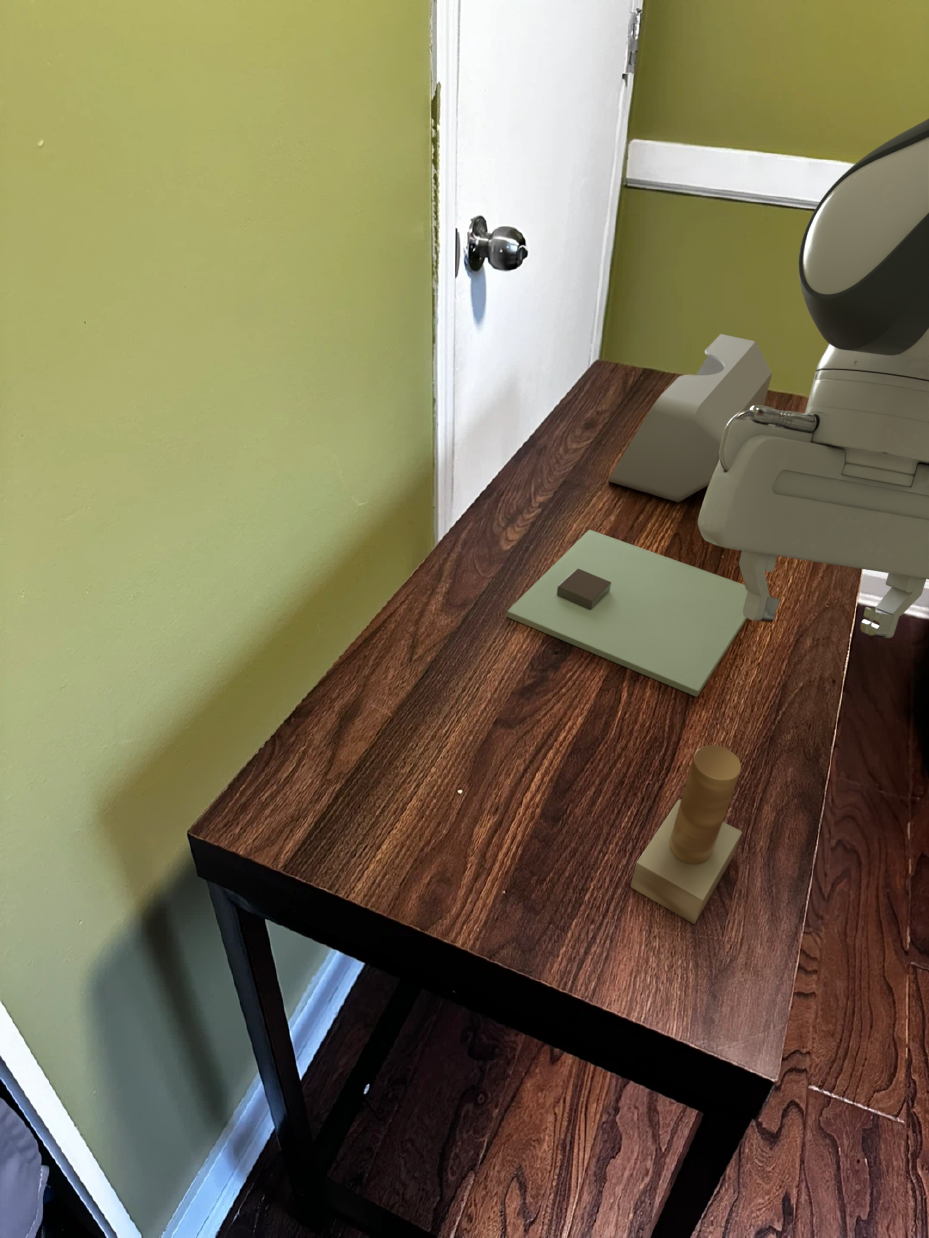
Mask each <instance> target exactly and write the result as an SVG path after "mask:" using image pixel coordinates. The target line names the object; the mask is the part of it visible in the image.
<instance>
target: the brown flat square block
mask: <svg viewBox="0 0 929 1238" xmlns="http://www.w3.org/2000/svg"><path fill="white" fill-rule="evenodd" d="M610 586H611V582H610V581H607V580H605V579H602V578H600V577H598V576H595V575H593V574H590V573H588V572H586V571H583V570H581V569H579V568H577V569H576V570H575V571H574V572H573V573H572V574H571V575H569V576H568V577H567V578H566V579H565V580H564V581H563V582H562V583H561V584H560V585H558V588H557V596H560V597H562V598H564V599H566V600H569V601H571V602H573V603H576V604H578V605H580V606H582V607H585V608H587V609H589V610H591V609H592V608H593V607H594V606H595V605H596V604H597V603H598V602H599V601H600V600H601V599H602V598H603V597H604V596H605V595H606V594H607V593H608V592H609V591H610Z"/></svg>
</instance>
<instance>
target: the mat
mask: <svg viewBox="0 0 929 1238" xmlns="http://www.w3.org/2000/svg"><path fill="white" fill-rule="evenodd" d="M577 568H579V569H581V570H583V571H586V572H588V573H590V574H593V575H595V576H598V577H600V578H602V579H605V580H607V581H610V582H611V586H610V591H609V592H608V593H607V594H606V595H605V596H604V597H603V598H602V599H601V600H600V601H599V602H598V603H597V604H596V605H595V606H594V607H593V608H592V609H591V610H589V609H587V608H585V607H582V606H580V605H578V604H576V603H573V602H571V601H569V600H566V599H564V598H562V597H560V596H557V588H558V585H560V584H561V583H562V582H563V581H564V580H565V579H566V578H567V577H568V576H569V575H571V574H572V573H573V572H574V571H575V570H576V569H577ZM747 592H748V590H746V587H745V584H743V583H740V582H737V581H734V580H732V579H729V578H727V577H723V576H721V575H718V574H715V573H712V572H710V571H706V570H704V569H701V568H698V567H696V566H693V565H690V564H688V563H684V562H681V561H679V560H676V559H673V558H671V557H667V556H665V555H662V554H659V553H657V552H654V551H651V550H648V549H645V548H643V547H639V546H638V545H637V546H636V545H634V544H631V543H628V542H626V541H623V540H620V539H617V538H614V537H611V536H609V535H605V534H604V533H600V532H597V531H595V530H592V529H587V531H586V532H585V533H584V534H583V535H582V536H581V537H580V538H579V539H578V540H577V541H576V542H575V543H574V544H573V545H572V546H571V547H570V548H569V549H567V551H566V552H565V553H564V554H563V555H562V556H561V557H560V558H559V559H558V560H557V561H556V562H555V563H553V565H552V566H551V567H549V569H548V570H546V572H545V573H543V575H541V577H540V578H539V579H538V580H536V582H535V583H534V584H532V586H530V588H529V589H528V590H527V591H526V592H524V594H523V595H522V596H520V598H518V600H516V602H515V603H514V604H513V605H512V606H511V607H510V608H509V609H508V610H507V611H506V617H507V618H509V619H511V620H514V621H516V622H518V623H520V624H523V625H525V626H528V627H530V628H532V629H535V630H537V631H539V632H541V633H544V634H546V635H549V636H551V637H553V638H556V639H558V640H561V641H563V642H565V643H568V644H570V645H572V646H574V647H577V648H579V649H582V650H584V651H587V652H589V653H591V654H593V655H596V656H597V657H598V656H599V657H601V658H604V659H606V660H608V661H611V662H613V663H615V664H617V665H619V666H621V667H625V668H627V669H630V670H632V671H634V672H636V673H639V674H641V675H644V676H646V677H648V678H649V679H653V680H655V681H658V682H660V683H662V684H665V685H667V686H669V687H672V688H674V689H677V690H679V691H682V692H684V693H685V694H688V695H690V696H693V697H694V698H695V697H696V698H697V697H698V696H699V695H700V694H701V692H702V691H703V688H705V686H706V684H707V682H708V681H709V679H710V678H711V676H712V674H713V673H714V671H715V670H716V668H717V667H718V665H719V664H720V662H721V660H722V659H723V657H724V656H725V654H726V652H727V651H728V650H729V648H730V647H731V645H732V643H733V642H734V640H735V639H736V637H737V635H739V632H740V631H741V629H742V628H743V626H744V624H745V623H746V621H747V620H748V618H746V617H745V616H744V615H743V608H744V604H745V600H746V596H747Z"/></svg>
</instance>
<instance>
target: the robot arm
mask: <svg viewBox="0 0 929 1238" xmlns="http://www.w3.org/2000/svg"><path fill="white" fill-rule="evenodd" d="M798 276H799V284H800V289H801V293H802V297H803V300H804V303H805V306H806V308H807V311H808V314H809V315H810V317H811V320H812V321H813V323H814V325H815V327H816V328H817V330H818V332H819V333H820V335H821V336H822V338H823V339H824V340H825V341H826V343H827V344H828V345H827V347H826V349H825V351H824V352H823V354H822V356H821V358H820V360H819V361H818V364H817V366H816V368H815V371H814V377H813V381H812V384H811V388H810V392H809V395H808V399H807V404H806V408H805V411H804V413H803V412H799V411H793V410H780V409H775V408H774V407H771V406H768V405H764V406H762V405H755V406H752V407H751V408H750V410H745V411H742V412H740V413H738V414H736V415H735V416H734V417H733V418H732V419H731V420H730V421H729V422H728V423H727V425H726V427H725V429H724V433H723V437H722V441H721V445H720V450H719V462H718V464H717V466H716V469H715V471H714V473H713V476H712V478H711V481H710V484H709V485H708V486H707V489H706V492H705V495H704V497H703V501H702V504H701V508H700V511H699V515H698V518H697V527H698V530H699V531H700V534H701V536H702V538H703V540H704V541H706V542H707V543H709V544H712V545H715V546H718V547H721V548H724V549H728V550H729V549H730V550H735V551H741V552H740V557H739V561H738V566H739V570H740V573H741V576H742V580H743V583H744V584H743V585H745V587H746V590H748V592H747V596H746V600H745V604H744V608H743V615H744V616H745V617H746V618H747V620H750V621H753V622H761V623H773V622H774V621H775V619H776V616H777V614H776V611H777V610H778V609H779V605H780V601H781V598H778V597H777V596H773V595H771V594H770V590H769V586H768V581H767V576H766V575H767V574H766V572H768V573H773V572H774V571H775V566H776V563H777V559H778V557H781V558H788V559H794V560H799V561H800V560H801V561H807V562H814V563H821V564H827V565H835V566H839V567H846V568H853V569H860V570H866V571H873V572H879V573H886V574H887V577H886V580H885V585H886V586H888V587H889V588H890V589H889V590H888V591H887V592H886V594H885V595H884V596H883V597H882V599H880V600H879V602H878V604H877V605H876V606H875V607H867V606H866V607H865V608H864V610H863V611H864V612H863V614H862V616H863V619H862V621H861V622H860V627H859V628H860V631H861V632H862V633H863V634H867V635H868V636H870V637H874V638H875V637H876V638H882V639H883V638H884V639H891V638H893V637H894V636H895V632H896V628H897V627H898V626H897V625H898V622H899V620H900V616H901V617H902V616H903V614H904V613H906V612H907V611H908V610H909V608H910V607H911V606H912V605H913V604H914V603H915V602H916V601H917V600H918V599H919V598H920V597H921V596H922V594H923V591H924V588H925V585H926V583H927V582H926V581H927V580H929V118H927V119H925V120H924V121H921V122H920V123H918V124H916V125H914V126H913V127H911V128H909V129H906V130H905V131H903V132H901V133H900V134H898V135H896V136H894V137H892V138H890V139H889V140H888V141H886V142H884V143H882V144H881V145H879V146H878V147H876V148H875V149H873V150H872V151H870V152H869V153H868V154H866V155H865V156H863V157H862V158H861V159H860V160H859V161H857V162H856V163H854V164H853V165H852V166H851V167H850V168H849V169H848V170H847V171H845V172H844V173H842V175H841V176H840V177H839V178H838V179H837V180H836V181H835V182H834V183H833V184H832V186H831V187H830V188H829V189H827V191H826V193H825V194H824V195H823V196H822V198H821V199H820V201H819V202H818V204H817V205H816V207H815V209H814V210H813V212H812V214H811V216H810V219H809V220H808V222H807V225H806V228H805V230H804V233H803V236H802V239H801V243H800V247H799V252H798ZM744 417H748V418H749V420H751V421H753V422H749V421H744V420H740V419H742V418H744ZM754 422H755V423H754ZM769 424H771V425H776V426H777V427H775V426H770V425H769Z"/></svg>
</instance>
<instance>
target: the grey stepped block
mask: <svg viewBox="0 0 929 1238" xmlns="http://www.w3.org/2000/svg"><path fill="white" fill-rule="evenodd" d="M704 354H705V355H706V358H705V359H704V361H703V363H702V364H701V366H700V368H699V369H698V371H697V372H696V374H682V375H679V376H678V377H677V378H676V379H675V380H674V381H673V382H671V384H670V385H669V386H668V387H667V388H666V389H665V390H664V391H663V392H662V393H661V394H660V395H659V397H658V398H657V399H656V400H655V402H654V404H653V405H652V406H651V408H650V409H649V411H648V413H647V414H646V416H645V418H644V420H643V421H642V423H641V425H640V426H639V428H638V430H637V431H636V432H635V435H634V436H633V438H632V439H631V441H630V443H629V444H628V446H627V448H626V450H624V453H623V454H622V456H621V457H620V459H619V461H618V463H617V464H616V466H615V468H614V469H613V471H612V473H611V474H610V476H609V477H608V479H607V482H609V483H612V484H616V485H619V486H622V487H625V488H629V489H631V490H632V489H633V490H636V491H639V492H643V493H645V494H649V495H653V496H655V497H659V498H663V499H665V500H669V501H672V502H675V503H680V502H681V501H683V500H685V499H686V498H688V497H690V496H692V495H693V494H695V493H697V492H699V491H701V490H702V489H704V488H706V487H708V486H709V484H710V481H711V478H712V476H713V473H714V471H715V469H716V466H717V464H718V462H719V450H720V445H721V441H722V437H723V433H724V429H725V427H726V425H727V423H728V422H729V421H730V420H731V419H732V418H733V417H734V416H735V415H736V414H738V413H740V412H742V411H745V410H750V408H751V407H752V406H755V405H762V406H765V404H766V403H765V402H766V399H767V395H768V391H769V388H770V384H771V380H772V376H773V373H772V370H771V368H770V367H769V364H768V362H767V361H766V358H765V357H764V354H763V352H762V350H761V348H760V346H759V344H758V343H757V341H755V340H750V339H746V338H743V337H742V338H741V337H737V336H732V335H727V334H723V333H720V334H719V335H718V336H717V337H716V338H715V339H714V340H713V342H711V343H710V344H709V345H708V346H707V348H705V350H704ZM740 420H744V421H749V422H753V421H751V420H749V418H748V417H744V418H742V419H740ZM754 423H755V422H754ZM769 425H770V426H775V427H778V426H776V425H771V424H769Z"/></svg>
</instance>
